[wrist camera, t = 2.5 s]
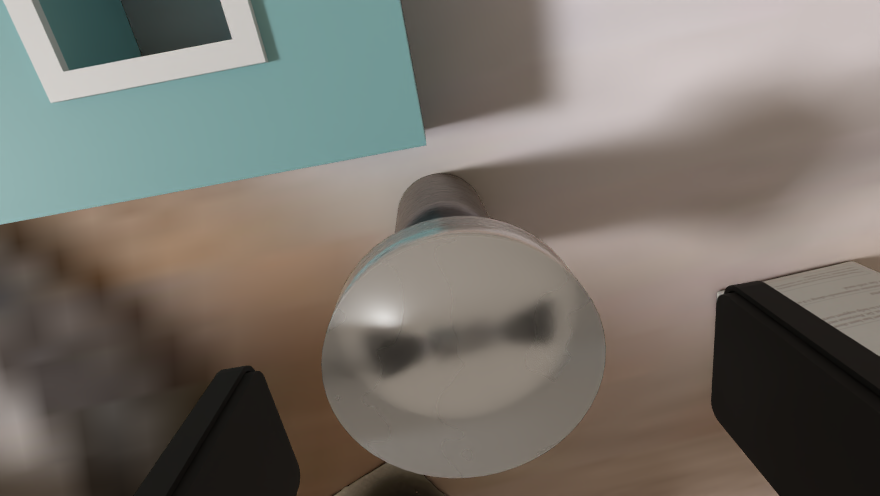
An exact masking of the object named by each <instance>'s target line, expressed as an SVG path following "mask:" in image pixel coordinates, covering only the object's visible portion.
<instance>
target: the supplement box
mask: <svg viewBox="0 0 880 496" xmlns="http://www.w3.org/2000/svg"><path fill="white" fill-rule="evenodd" d="M763 282H764V283H766V284H768V285H769V286H771V287H772V288H774V289H775V290H777V291H779V292H780V293H782V294H783V295H785V296H786V297H788V298H789V299H791V300H793V301H794V302H796V303H797V304H799V305H800V306H802V307H804V308H805V309H807V310H808V311H810V312H811V313H813V314H814V315H816V316H818V317H819V318H821V319H822V320H824V321H825V322H827V323H828V324H830V325H832V326H833V327H835V328H836V329H838V330H839V331H841V332H843V333H844V334H846V335H847V336H849V337H850V338H852V339H853V340H855V341H857V342H858V343H860V344H861V345H863V346H864V347H866V348H867V349H869V350H871V351H872V352H874V353H875V354H877V355H878V356H880V273H879V272H877V271H875V270H872V269H870V268H868V267H865V266H863V265H861V264H859V263H856V262H854V261H850V262H845V263H841V264H837V265H833V266H828V267H824V268H820V269H815V270H811V271H807V272H802V273H798V274H794V275H789V276H785V277H780V278H776V279H772V280H767V281H763ZM724 291H725V290H723V291H719V292H717V298H718V297H719V296H720V295H722V294H724Z"/></svg>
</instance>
